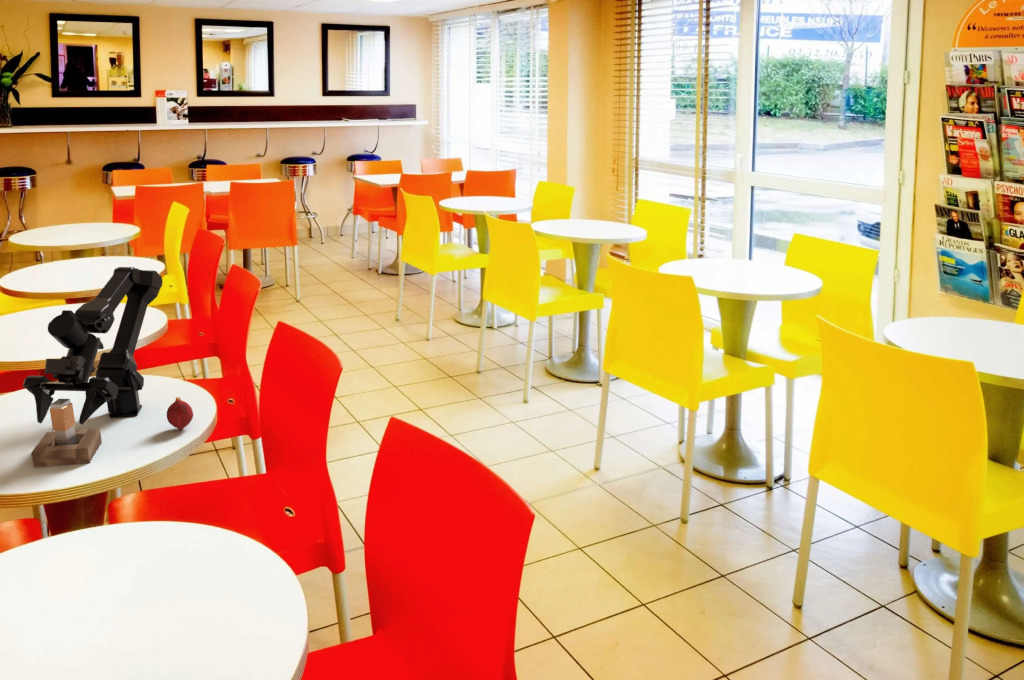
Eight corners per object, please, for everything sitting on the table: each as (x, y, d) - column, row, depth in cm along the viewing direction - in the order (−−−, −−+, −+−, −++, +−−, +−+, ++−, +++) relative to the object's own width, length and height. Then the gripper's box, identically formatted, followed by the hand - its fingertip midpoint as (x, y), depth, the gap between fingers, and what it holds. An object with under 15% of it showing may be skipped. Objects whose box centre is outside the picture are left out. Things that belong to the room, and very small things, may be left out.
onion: (199, 429, 201) (195, 397, 198) (175, 436, 197) (171, 403, 194) (187, 422, 204) (183, 391, 202) (164, 429, 200) (160, 397, 198)
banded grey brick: (67, 450, 188) (59, 398, 185) (79, 451, 188) (71, 398, 184) (57, 458, 185) (48, 404, 181) (70, 458, 185) (61, 405, 181)
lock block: (101, 442, 193) (99, 428, 192) (89, 462, 183) (87, 447, 182) (49, 446, 191) (46, 432, 190) (33, 467, 180) (31, 452, 179)
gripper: (20, 340, 184) (-4, 406, 176) (104, 342, 183) (83, 409, 175) (47, 363, 193) (25, 427, 186) (127, 365, 192) (108, 429, 185)
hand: (59, 423), depth 183 cm, fingers open, 9 cm apart
